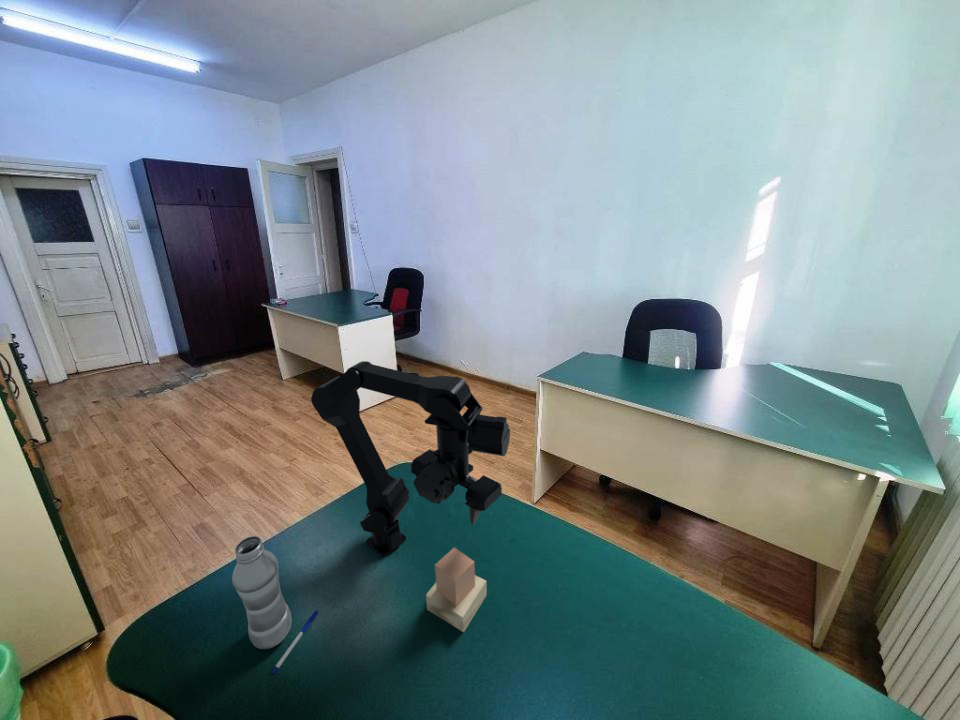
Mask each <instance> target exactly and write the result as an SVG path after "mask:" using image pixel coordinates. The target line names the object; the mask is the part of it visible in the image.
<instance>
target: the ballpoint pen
mask: <svg viewBox="0 0 960 720" xmlns="http://www.w3.org/2000/svg"><path fill="white" fill-rule="evenodd" d="M318 614H319V611H318V610H317V609H316V610H315V611H313V613H312V614H311V616H310V617H309V618H308V619H307V620H306V622H305V623H304V624H303V627H302V628H301V630H300V631H299V633H298V634H297V635H296V637H295V638H294V640H293V641H292V642H291V644H290V646H289V647H288V648H287V650H286V651H285V652H284V654H283V655H282V656H281V657H280V659H279V660H278V662H277V663H276V664H275V666H274V668H273V669H272V671H271V674H272V675H274V674H275V673H277V671H278V670H279V669H280V667H281V666H282V665H283V663H284V662H285V660H286V659H287V657H288V656H289V655H290V653H291V652H292V651H293V649H294V647H295V646H296V645H297V643H298V642H299V641H300V639H301V638H302V636H303V635H304V634H305V633H306V631H307V629H308V628H309V627H310V625H311V624H312V623H313V621H314V620H315V618H316V617H317V616H318Z"/></svg>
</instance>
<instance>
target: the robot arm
mask: <svg viewBox="0 0 960 720" xmlns="http://www.w3.org/2000/svg"><path fill="white" fill-rule="evenodd" d="M361 388H362V389H364V390H365V389H366V390H369V391H372V392H375V393H379V394H383V395H388V396H391V397H393V398H394V397H395V398H399V399H402V400H406V401H410V402H413V403H415V404H417V405H418V406H420V407H421V408H422V410H424V411H425V412H426V413H429V414H430V415H428V416H427V417H426V418H425V419H424V423H425V424H427V425H431V426H435V429H436V447H437V449H435V450H432V449H431V448H429V449H427V450H426V451H425V452H423V453H422V454H420V455H418V456H416V457H414V458H413V460H412V461H411V463H410V469H411V470H410V471H411V474H413V475H415V476H416V477H415V478H414V480H413V482H412V483H413V486H414V487H415V489H416V491H417V493H418V495H419V496H420V497H422V498H424V499H426V500H427V501H429V502H430V503H432V504H435V503H436V504H437V505H439V504H441V503H442V500H443V501H447V500H448V499H449V498H450V496H451V495H452V493H454V491H455V487H456V486H458V485H459V486H461V487H463V488H465V489H467V490H466V492H465V495H464V496H465V497H464V499H465V501H466V502H465V503H464V505H465V506H467V507H469V521H470V524H471V525H475V524H476V522H478V521H477V520H478V519H479V516H480V515H481V513H482V511H484V512H485V511H486V510H487V509H488V508H490V506H491V505H493V504H494V503H495V502H496V501H497V500H498V499H499V498H500V497H502V495H503V494H502V493H503V491H502V489H503V487H502V483H500V482H498V481H496V480H494V479H492V478H490V477H488V476H486V475H484V474H483V475H482V476H481V477H479V478H478V479H477V478H475V477H473V476H471V475H470V473H471V472H473V471H474V465H472V464H471V463H469V462H470V461H469V459H470V458H469V455H471V454H472V453H473V452H476V453H482V454H487V455H493V456H498V457H499V456H500V457H506V455H507V453H508V449H509V445H510V437H511V429H510V426H509V423H507V421H508V420H507V419H508V418H507V417H506V416H505V417H504V416H492V415H484V414H481V412H483V407H482V405H481V404H480V403H479V402H478V400H477V398H475V396H474V394H473V393H472V392H471V388H470V386H469V384H468V383H467V381H466V380H465V379H463V378H462V377H459V376H451V375H436V376H421V375H417V374H412V373H409V372H406V371H405V372H404V371H401V370H397V369H393V368H389V367H384V366H381V365H376V364H373V363H371V361H363V360H362V361H359V362H358V363H356V364H354V365H352V366H351V367H349V368H347V369H346V371H344V373H342V374H341V375H340V376H336V377H334V378H332V379H331V380H329V381H327V382H326V383H323V384H321V385H320V386H318V387H316V388H314V389H313V391H312V396H311V397H310V401H311V404H312V406H313V408H314V409H315V411H316V412H317V413H318V415H319V417H320V418H321V419H322V420H323V421H325V422H326V423H328V424H329V425H331V426H333V427H334V428H336V430H337V432H338V435H339V436H340V438H341V440H342V442H343V444H344V446H345V448H346V449H347V451H348V453H349V455H350V457H351V459H352V462H353V463H354V466H355V467H356V469H357V471H358V473H359V475H360V477H361V479H362V481H363V483H364V485H365V486H366V497H365V498H366V499H365V500H366V507H367V509H368V512H367V513H366V515H365V516H364V517H363V518H362V519H361V521H360V522H359V524H360V526H361V528H362V530H363V531H364V532H367V533H370V534H371V536H370V537H369V538H367V539H366V541H365V543H366V545H368V546H369V547H370V548H371V549H372V550H374V551H375V552H376V553H377V554H379V555H380V556H381V557H383V558H385V557H386V556H388V555H389V554H390V553H392V551H394V550H395V549H396V548H398V547H399V546H400V545H401V544H402V543H403V542H405V541H406V540H407V536H406V535H405V534H403V533H402V532H401V529H400V523H399V520H398V517H399V516H400V515H401V513H402V512H403V510H404V509H405V508H406V506H407V505H408V503H409V500H410V496H409V494H410V492H411V491H410V490H409V489H408V488H407V486H406V484H405V481H404V479H403V478H402V477H398V478H395V477H394V476H393V475H390V473H389V472H388V470H387V469H386V466H385V464H384V463H383V460H382V458H381V457H380V455H379V452H378V450H377V448H376V446H375V445H374V443H373V440H372V438H371V436H370V434H369V433H368V431H367V428H366V426H365V425H364V422H363V420H362V418H361V415H360V411H361V408H360V407H361V398H360V396H359V392H358V390H359V389H361ZM465 407H466V411H465V412H464V413H463V414H461V411H462V410H463V408H465Z"/></svg>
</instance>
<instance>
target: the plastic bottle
mask: <svg viewBox="0 0 960 720" xmlns="http://www.w3.org/2000/svg"><path fill="white" fill-rule="evenodd" d="M234 554H235V559H236V562H237V563H236V564H235V567H234V569H233V571H232V578H231V579H232V580H231V581H232V584H233V588H234V589H235V590H236V592H237V594H238V596H239V597H240V599H241V601H242V603H243V606H244V608H245V611H246V617H247V622H248V623H247V625H248V626H247V629H248V630H247V632H248V638H249V640H250V643H252V645H253V646H254V647H255V648H256V649H260V650H270V649H272V648H274V647H276V646H278V645H279V644H280V643H282V642H283V641H284V640H285V638H286V636H287V635H288V633H290V630H291V628H292V612H291V610H290V607H289V605H288V604H287V602H286V600H285V598H284V596H283V594H282V593H283V592H282V590H281V584H280V576H279V575H280V574H279V563H278V558H277V557H276V556H275V554H274V553H273V552H271V551H270V550H267V549H265V546H264V543H263V540H262V538H261V537H260V536H257V535H252V536H248V537H245V538H244V539H241V540H240V541H239V542H238V543H237V544H236V546H235V549H234Z"/></svg>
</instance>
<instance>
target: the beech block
mask: <svg viewBox="0 0 960 720" xmlns="http://www.w3.org/2000/svg"><path fill="white" fill-rule="evenodd" d="M487 586H488V585H487V580H485V579H483V578H482V577H480V576H478V575H476V574H475V587H474V588H473V589H472V590H471V591H470V592H469V593H468V594H467V595H466V597H465V598H464V599H463V600H462V601H461V602H460V603H459V604H458V605H457V606H455V605H454V604H453V603H452V602H451V601H449V600H448V599H447V598H446V597H445V596H443V595H442V594H441V593H440V592H439V591H437V589H436V582H434V584H433V586H431V588H430V589H429V591H428V592H426V594H425V599H426V610H427V611H429V612H430V613H432V614H433V615H435V616H436V617H438V618H440V619H441V620H443V621H444V622H446V623H448V624H449V625H452V626H453V627H454V628H455V629H458V630H459V631H461V632H462V633H465V632H466V629H467V628H468V626H469V624H470V623H471V621H472V619H473V618H474V617H475V615H476V613H477V612H478V610H479V608H480V607H481V605H482V604H483V602H484V600H485V598H486V597H487V595H488V594H487V593H488V592H487Z"/></svg>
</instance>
